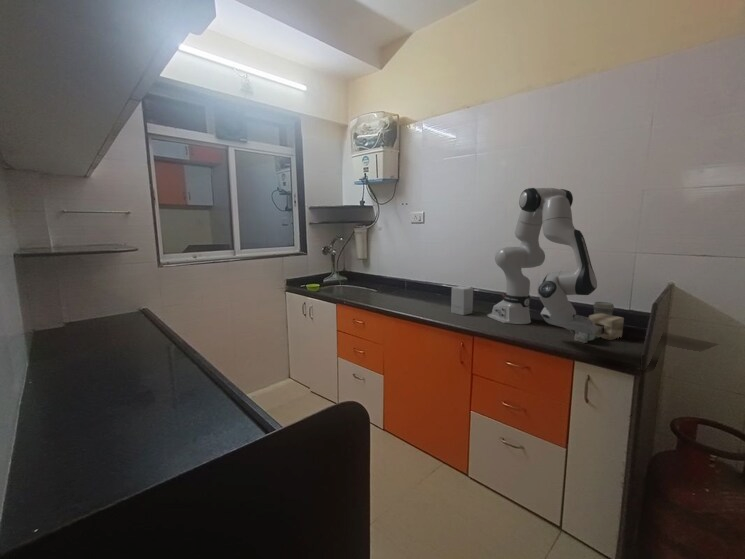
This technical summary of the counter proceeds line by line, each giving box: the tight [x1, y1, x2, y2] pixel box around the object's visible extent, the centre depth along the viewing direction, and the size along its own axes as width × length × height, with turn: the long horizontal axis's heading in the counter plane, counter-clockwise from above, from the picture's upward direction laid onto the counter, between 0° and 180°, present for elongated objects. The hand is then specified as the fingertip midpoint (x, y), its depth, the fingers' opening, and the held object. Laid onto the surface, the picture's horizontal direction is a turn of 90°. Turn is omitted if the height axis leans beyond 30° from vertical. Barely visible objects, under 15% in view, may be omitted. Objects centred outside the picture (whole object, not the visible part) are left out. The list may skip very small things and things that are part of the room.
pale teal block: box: [588, 333, 596, 341], centre depth 147 cm, size 5×4×5 cm, turn 28°
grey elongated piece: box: [574, 324, 604, 344], centre depth 149 cm, size 4×18×8 cm, turn 118°
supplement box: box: [450, 285, 474, 316], centre depth 196 cm, size 9×9×15 cm
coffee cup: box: [592, 301, 615, 315], centre depth 166 cm, size 8×9×12 cm
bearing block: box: [588, 313, 625, 341], centre depth 154 cm, size 10×9×9 cm
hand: (575, 332), depth 144 cm, fingers closed
